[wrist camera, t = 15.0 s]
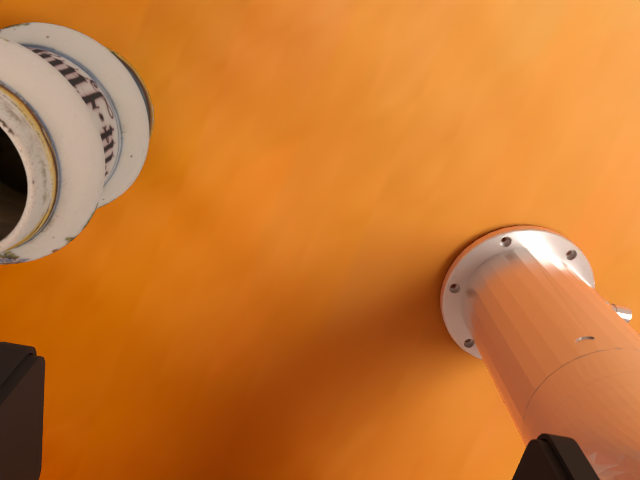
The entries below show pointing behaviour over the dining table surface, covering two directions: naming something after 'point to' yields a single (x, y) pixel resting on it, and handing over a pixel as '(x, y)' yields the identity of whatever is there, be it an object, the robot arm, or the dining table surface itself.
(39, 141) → the apothecary jar
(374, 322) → the dining table surface
